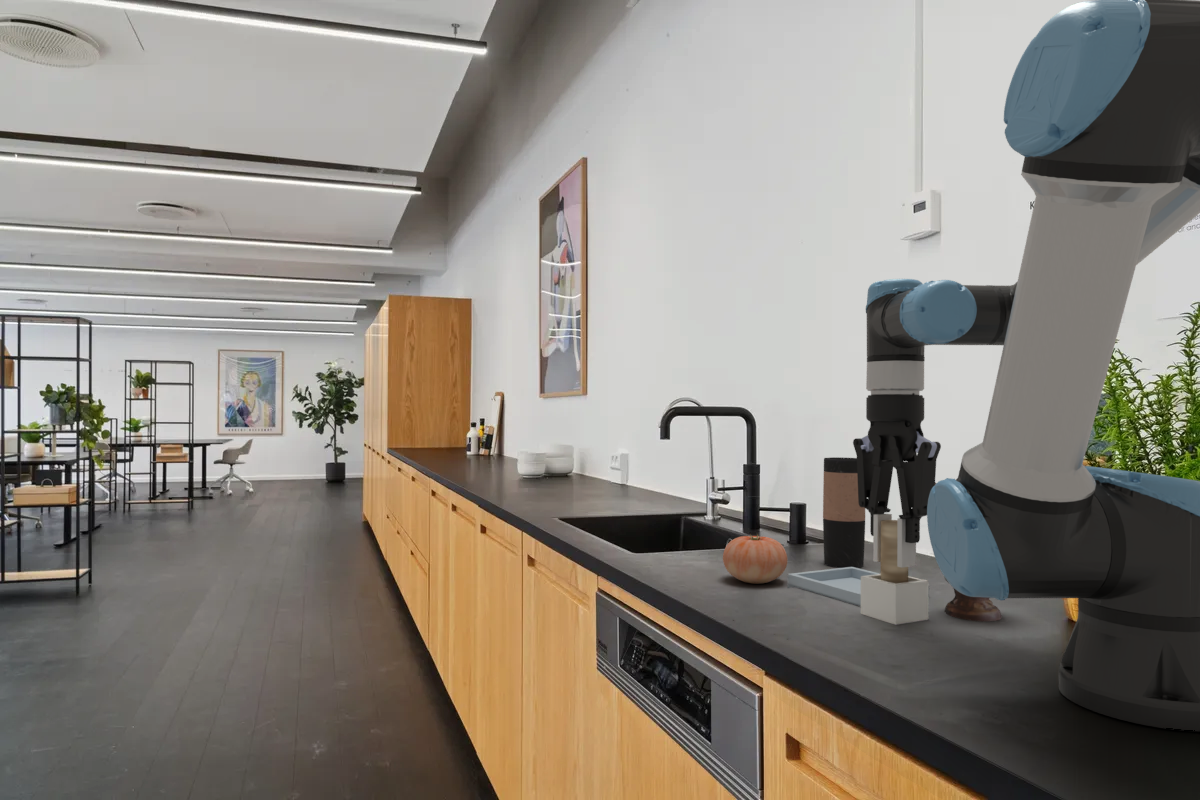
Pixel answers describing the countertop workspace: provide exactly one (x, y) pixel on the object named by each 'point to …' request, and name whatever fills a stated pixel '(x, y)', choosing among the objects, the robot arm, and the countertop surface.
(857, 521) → the travel mug
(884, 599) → the open box
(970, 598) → the mortar and pestle
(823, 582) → the tray
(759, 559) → the pumpkin
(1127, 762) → the countertop surface
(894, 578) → the dowel
